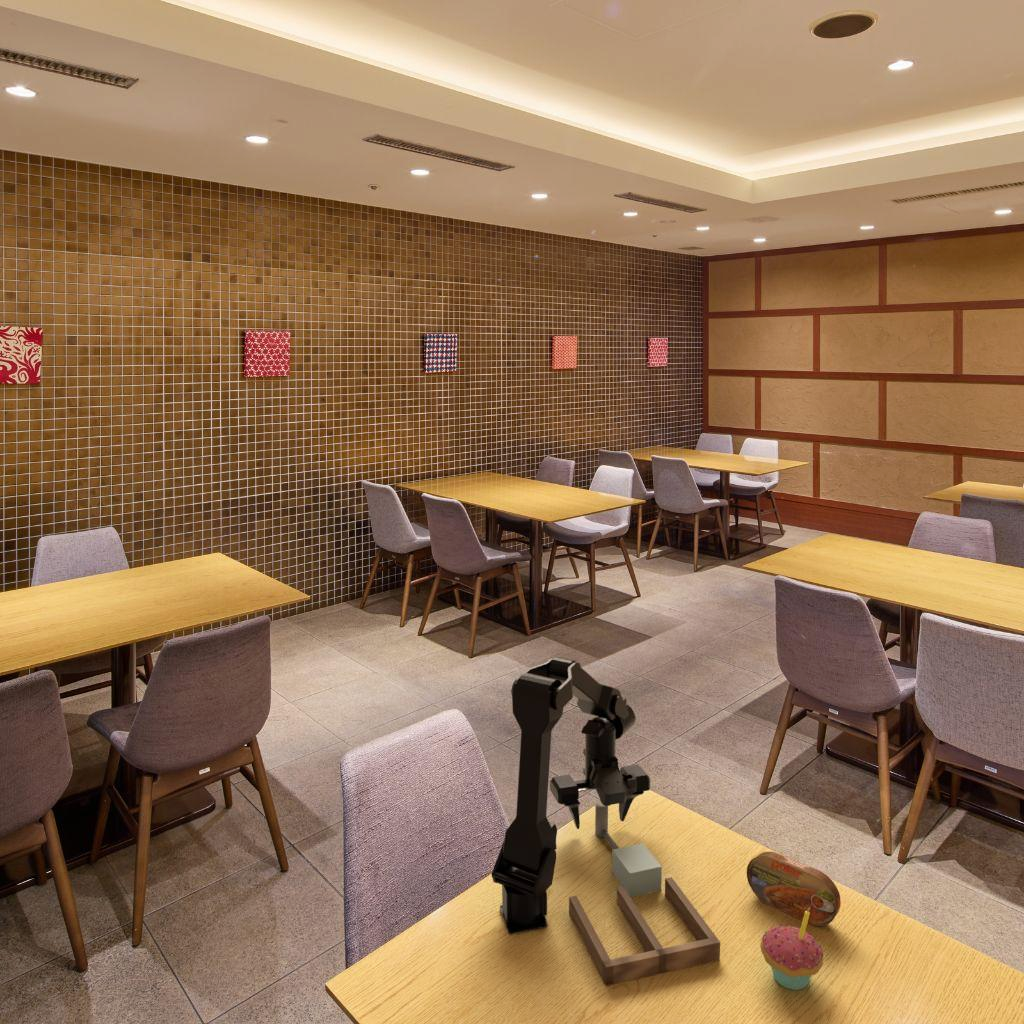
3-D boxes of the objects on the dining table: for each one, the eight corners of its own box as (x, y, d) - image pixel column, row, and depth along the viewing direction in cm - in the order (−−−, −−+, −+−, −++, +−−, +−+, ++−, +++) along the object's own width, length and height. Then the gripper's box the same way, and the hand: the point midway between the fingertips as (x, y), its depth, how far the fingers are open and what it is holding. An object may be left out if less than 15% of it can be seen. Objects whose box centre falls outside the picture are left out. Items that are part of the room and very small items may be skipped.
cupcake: (820, 964, 115) (824, 892, 113) (822, 1008, 107) (827, 930, 105) (759, 951, 118) (763, 880, 116) (758, 992, 110) (761, 917, 108)
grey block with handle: (629, 897, 130) (629, 865, 129) (584, 833, 149) (584, 804, 148) (661, 890, 132) (662, 858, 131) (613, 827, 151) (613, 799, 150)
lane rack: (605, 985, 111) (605, 967, 111) (569, 913, 127) (569, 896, 126) (719, 959, 116) (720, 942, 116) (671, 893, 131) (671, 877, 131)
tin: (744, 893, 131) (746, 848, 130) (753, 885, 133) (755, 840, 132) (833, 936, 121) (837, 888, 119) (841, 926, 123) (844, 878, 122)
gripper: (567, 776, 137) (567, 856, 139) (664, 762, 141) (662, 839, 144) (548, 748, 147) (549, 823, 150) (638, 735, 152) (637, 808, 155)
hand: (599, 824), depth 149 cm, fingers open, 9 cm apart
